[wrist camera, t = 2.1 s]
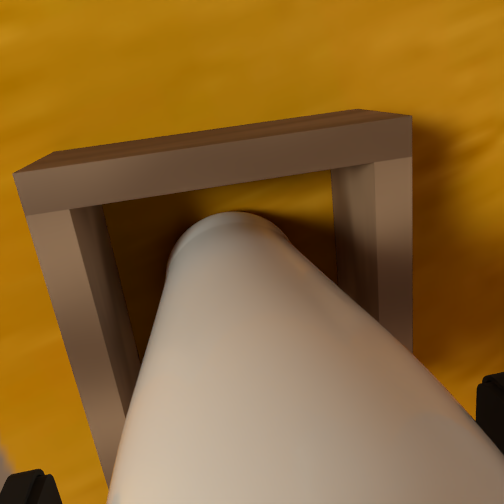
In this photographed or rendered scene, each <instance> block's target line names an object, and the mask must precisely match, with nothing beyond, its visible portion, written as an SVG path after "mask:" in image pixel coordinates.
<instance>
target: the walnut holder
mask: <svg viewBox="0 0 504 504" xmlns="http://www.w3.org/2000/svg"><path fill="white" fill-rule="evenodd" d="M328 169H331V181H332V197H333V213H334V228H335V244H336V259H337V275H338V286H339V287H340V288H341V289H342V290H343V291H344V292H345V293H347V294H348V295H349V296H350V297H351V298H352V299H353V300H354V301H356V302H357V303H358V304H359V305H360V306H361V307H362V308H363V309H365V310H366V311H367V312H368V313H369V314H370V315H371V316H372V317H374V318H375V319H376V320H377V321H378V322H379V323H380V324H381V325H382V326H384V327H385V328H386V329H387V330H388V331H389V332H390V333H391V334H392V335H393V336H394V337H396V338H397V339H398V340H399V341H400V342H401V343H402V344H403V345H404V346H405V347H406V348H407V349H408V350H409V351H410V352H411V353H412V354H413V298H412V116H410V115H402V114H394V113H386V112H378V111H370V110H362V109H353V110H346V111H339V112H332V113H325V114H318V115H311V116H304V117H297V118H290V119H283V120H276V121H268V122H261V123H254V124H247V125H240V126H233V127H226V128H219V129H212V130H205V131H198V132H191V133H184V134H177V135H170V136H162V137H155V138H148V139H141V140H134V141H127V142H120V143H113V144H106V145H99V146H92V147H85V148H78V149H71V150H63V151H56V152H53V153H51V154H49V155H47V156H45V157H43V158H41V159H39V160H37V161H35V162H34V163H32V164H30V165H28V166H26V167H24V168H22V169H20V170H18V171H16V172H14V173H13V177H14V181H15V184H16V187H17V190H18V194H19V197H20V200H21V203H22V207H23V210H24V213H25V217H26V220H27V223H28V226H29V230H30V233H31V236H32V239H33V243H34V246H35V249H36V253H37V256H38V259H39V262H40V266H41V269H42V272H43V276H44V279H45V282H46V285H47V289H48V292H49V295H50V298H51V302H52V305H53V308H54V312H55V315H56V318H57V321H58V325H59V328H60V331H61V335H62V338H63V341H64V344H65V348H66V351H67V354H68V357H69V361H70V364H71V367H72V371H73V374H74V377H75V380H76V384H77V387H78V390H79V393H80V397H81V400H82V403H83V407H84V410H85V413H86V416H87V420H88V423H89V426H90V430H91V433H92V436H93V439H94V443H95V446H96V449H97V452H98V456H99V459H100V462H101V466H102V469H103V472H104V475H105V479H106V482H107V485H108V488H109V487H110V482H111V477H112V473H113V468H114V463H115V459H116V454H117V450H118V446H119V442H120V438H121V434H122V430H123V427H124V423H125V420H126V416H127V412H128V409H129V405H130V402H131V398H132V395H133V392H134V388H135V385H136V381H137V378H138V375H139V371H140V368H141V364H140V360H139V356H138V352H137V348H136V344H135V340H134V336H133V332H132V327H131V323H130V319H129V315H128V311H127V307H126V303H125V299H124V295H123V290H122V286H121V282H120V278H119V274H118V270H117V266H116V262H115V258H114V253H113V249H112V245H111V241H110V237H109V233H108V229H107V225H106V221H105V216H104V212H103V208H102V204H107V203H113V202H120V201H126V200H133V199H139V198H146V197H152V196H159V195H165V194H172V193H178V192H185V191H191V190H198V189H204V188H211V187H217V186H224V185H230V184H237V183H244V182H250V181H257V180H263V179H270V178H276V177H283V176H289V175H296V174H302V173H309V172H315V171H322V170H328Z"/></svg>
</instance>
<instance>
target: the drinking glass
mask: <svg viewBox="0 0 504 504" xmlns="http://www.w3.org/2000/svg"><path fill="white" fill-rule="evenodd" d="M106 504H504V454H503V453H502V452H501V451H500V449H499V448H498V447H497V446H496V445H495V443H494V442H493V441H492V440H491V439H490V438H489V436H488V435H487V434H486V433H485V432H484V430H483V429H482V428H481V427H480V426H479V425H478V424H477V422H476V421H475V420H474V419H473V418H472V417H471V415H470V414H469V413H468V412H467V411H466V410H465V409H464V407H463V406H462V405H461V404H460V403H459V402H458V401H457V400H456V399H455V398H454V397H453V395H452V394H451V393H450V392H449V391H448V390H447V389H446V388H445V387H444V386H443V385H442V384H441V382H440V381H439V380H438V379H437V378H436V377H435V376H434V375H433V374H432V373H431V372H430V371H429V370H428V369H427V368H426V367H425V366H424V365H423V364H422V363H421V362H420V361H419V360H418V359H417V358H416V357H415V356H414V355H413V354H412V353H411V352H410V351H409V350H408V349H407V348H406V347H405V346H404V345H403V344H402V343H401V342H400V341H399V340H398V339H397V338H396V337H394V336H393V335H392V334H391V333H390V332H389V331H388V330H387V329H386V328H385V327H384V326H382V325H381V324H380V323H379V322H378V321H377V320H376V319H375V318H374V317H372V316H371V315H370V314H369V313H368V312H367V311H366V310H365V309H363V308H362V307H361V306H360V305H359V304H358V303H357V302H356V301H354V300H353V299H352V298H351V297H350V296H349V295H348V294H347V293H345V292H344V291H343V290H342V289H341V288H340V287H339V286H338V285H336V284H335V283H334V282H333V281H332V280H331V279H330V278H329V277H327V276H326V275H325V274H324V273H323V272H322V271H321V270H320V269H319V268H317V267H316V266H315V265H314V264H313V263H312V262H311V261H310V260H309V259H308V258H307V257H305V256H304V255H303V254H302V253H301V252H300V251H299V250H298V249H297V248H296V247H295V246H294V245H293V244H292V243H291V241H290V240H289V239H288V237H287V236H286V235H285V234H284V233H283V232H282V231H281V230H280V229H279V228H278V227H277V226H276V225H275V224H273V223H272V222H270V221H269V220H267V219H265V218H263V217H260V216H258V215H255V214H251V213H247V212H238V211H230V212H222V213H217V214H214V215H211V216H208V217H206V218H204V219H202V220H200V221H198V222H197V223H195V224H194V225H192V226H191V227H190V228H188V229H187V230H186V231H185V232H184V233H183V234H182V236H181V237H180V238H179V239H178V241H177V242H176V244H175V245H174V247H173V249H172V251H171V253H170V256H169V259H168V262H167V267H166V274H165V284H164V288H163V292H162V295H161V299H160V303H159V306H158V310H157V313H156V317H155V320H154V324H153V327H152V331H151V334H150V337H149V341H148V344H147V348H146V351H145V354H144V358H143V361H142V364H141V368H140V371H139V375H138V378H137V381H136V385H135V388H134V392H133V395H132V398H131V402H130V405H129V409H128V412H127V416H126V420H125V423H124V427H123V430H122V434H121V438H120V442H119V446H118V450H117V454H116V459H115V463H114V468H113V473H112V477H111V482H110V487H109V492H108V498H107V503H106Z"/></svg>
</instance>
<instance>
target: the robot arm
mask: <svg viewBox="0 0 504 504" xmlns="http://www.w3.org/2000/svg"><path fill="white" fill-rule="evenodd" d="M476 422H477V424H478V425H479V426H480V427H481V428H482V429H483V430H484V432H485V433H486V434H487V435H488V436H489V438H490V439H491V440H492V441H493V442H494V443H495V445H496V446H497V447H498V448H499V449H500V451H501V452H502V453H503V454H504V372H501V373H497V374H492V375H487V376H485V377H484V378H483V380H482V384H479V385H478V386H477V398H476ZM0 504H62V501H61V498H60V495H59V492H58V489H57V486H56V483H55V480H54V478H53V476H52V475H51V474H48V475H45V474H44V472H43V471H42V470H41V469H35V470H31V471H26V472H21V473H16V474H11V475H10V476H9V477H8V478H7V480H6V482H5V484H4V486H3V489H2V491H1V493H0Z"/></svg>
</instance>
